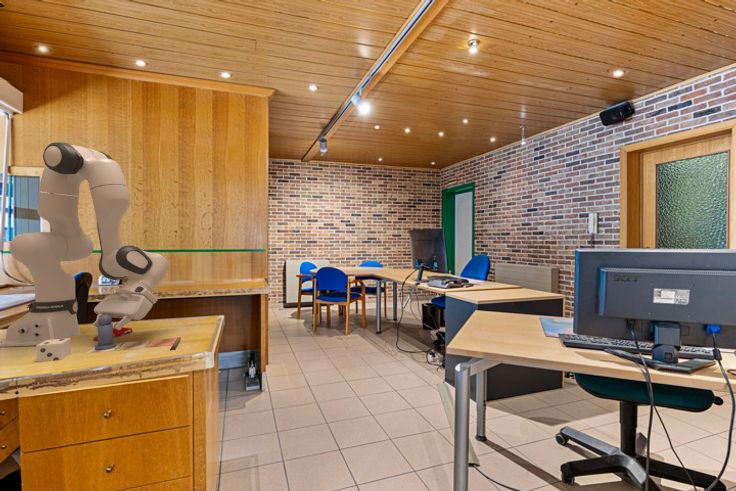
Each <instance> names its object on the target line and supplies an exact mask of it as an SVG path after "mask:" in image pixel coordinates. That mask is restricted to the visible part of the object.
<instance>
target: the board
mask: <svg viewBox="0 0 736 491" xmlns="http://www.w3.org/2000/svg"><path fill="white" fill-rule="evenodd" d="M180 342H181V336H179V337H175V338H174V337H170V338H159V339H152V340H150V339H149V340H148V339H147V340H138V341H136V340H135V341H126V342H115V343H116V347H114V348H111V349H107V350H95V346H93V347H92V348H91V349H90V350H88V351H87V352H86V354H91V353H92V354H93V353H94V354H95V353H105V352H113V351H114V352H115V350H116V351H125V350H137V349H145V348H146V349H148V348H150V349H151V348H158V347H159V348H160V347H170V349H169V351H176V349H177V348H178V346H179V344H180Z"/></svg>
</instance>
